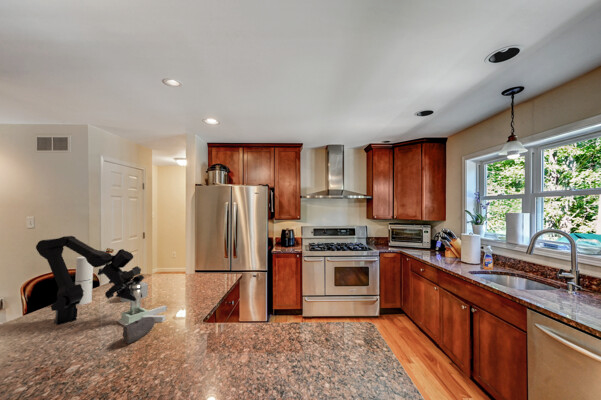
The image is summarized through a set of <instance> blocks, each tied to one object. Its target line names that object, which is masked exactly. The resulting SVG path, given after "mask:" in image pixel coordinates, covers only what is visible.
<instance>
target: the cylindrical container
mask: <svg viewBox="0 0 601 400" xmlns="http://www.w3.org/2000/svg"><path fill="white" fill-rule="evenodd" d="M75 260H76V262H75V264H76V265H75V282H74V284H76V285H78V284H80V285H81V287H82V289H83V291H84V292H83V297H82V299H81V301H80V303H79V304H77V305H76V306H83V305H86V304H89V303H90V304H91V303H92V300H93V299H92V298H93V297H92V296H93V279H94V267H93V266H92V265H90V264H89V263H88V262H87V260H86V258H85V257H83V256H77V257H76V259H75Z"/></svg>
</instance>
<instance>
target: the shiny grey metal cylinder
mask: <svg viewBox="0 0 601 400" xmlns="http://www.w3.org/2000/svg"><path fill="white" fill-rule="evenodd" d="M130 290H131V293H132V294H133V295H134V296H135V298H136V301H131V300H130V302H129V311H130V316H131V315H135V314H138V313H140V307H141V305H142V304H141V303H142V301H141V300H142V299H141V284H140V283H138V284H132V285H131V289H130Z"/></svg>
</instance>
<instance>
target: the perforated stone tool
mask: <svg viewBox="0 0 601 400" xmlns="http://www.w3.org/2000/svg"><path fill="white" fill-rule="evenodd" d="M155 323H156V322H155V319H154V318H153V317H146V318H142V319H139V320H137V321H134V322H132V323H130V324H128V325H126V326H124V325H123V326H122V337H123V338H124V339H123V342H124V343H126V344H128V345H129V344H131V343H134V342H136V341H138V340H139V339H141V338H142V337H144V336H145V335H147V334H148V333H149V332H150V331H151V330H152V329H153V328H154V326H155Z"/></svg>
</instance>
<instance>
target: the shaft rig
mask: <svg viewBox="0 0 601 400" xmlns="http://www.w3.org/2000/svg"><path fill="white" fill-rule="evenodd" d="M166 311H168V306H167V305H161V306H158V307H155V308H152V309H149V310H147V309H146V308H143V307H141V306H140V313H138V314H135V315H131V316H130V310H127V311H123V312H121V316H120V319H117V323H119V324H121V325H123V327H124V326H126V325H128V324H130V323H132V322H134V321H137V320H139V319H142V318H146V317H153V318H154V319H155V323H163V322H165V321H166V315H165V314H161V313H164V312H166Z"/></svg>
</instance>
